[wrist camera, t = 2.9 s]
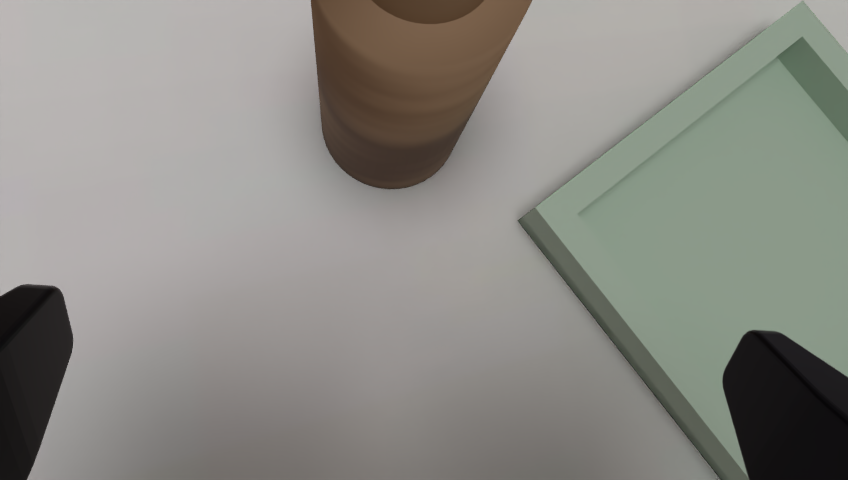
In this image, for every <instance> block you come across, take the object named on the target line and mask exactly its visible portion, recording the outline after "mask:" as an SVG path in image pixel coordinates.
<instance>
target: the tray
mask: <svg viewBox="0 0 848 480" xmlns="http://www.w3.org/2000/svg"><path fill="white" fill-rule="evenodd" d="M518 221H519V223H520V224H521V225H522V227H523V228H524V229H525V230H526V232H527V233H528V234H529V235H530V237H531V238H532V239H533V241H534V242H535V243H536V244H537V246H538V247H539V248H540V249H541V251H542V252H543V253H544V255H545V256H546V257H547V258H548V260H549V261H550V262H551V263H552V265H553V266H554V267H555V269H556V270H557V271H558V272H559V274H560V275H561V276H562V277H563V279H564V280H565V281H566V283H567V284H568V285H569V286H570V288H571V289H572V290H573V291H574V293H575V294H576V295H577V297H578V298H579V299H580V300H581V302H582V303H583V304H584V305H585V307H586V308H587V309H588V311H589V312H590V313H591V314H592V316H593V317H594V318H595V319H596V321H597V322H598V323H599V325H600V326H601V327H602V328H603V330H604V331H605V332H606V333H607V335H608V336H609V337H610V339H611V340H612V341H613V342H614V344H615V345H616V346H617V347H618V349H619V350H620V351H621V353H622V354H623V355H624V356H625V358H626V359H627V360H628V361H629V363H630V364H631V365H632V367H633V368H634V369H635V370H636V372H637V373H638V374H639V375H640V377H641V378H642V379H643V381H644V382H645V383H646V384H647V386H648V387H649V388H650V389H651V391H652V392H653V393H654V395H655V396H656V397H657V398H658V400H659V401H660V402H661V403H662V405H663V406H664V407H665V409H666V410H667V411H668V412H669V414H670V415H671V416H672V417H673V419H674V420H675V421H676V423H677V424H678V425H679V426H680V428H681V429H682V430H683V431H684V433H685V434H686V435H687V437H688V438H689V439H690V440H691V442H692V443H693V444H694V445H695V447H696V448H697V449H698V451H699V452H700V453H701V454H702V456H703V457H704V458H705V459H706V461H707V462H708V463H709V465H710V466H711V467H712V468H713V470H714V471H715V472H716V473H717V475H718V476H719V477H720V479H721V480H749V478H748V475H747V471H746V468H745V464H744V461H743V457H742V454H741V450H740V447H739V443H738V440H737V436H736V433H735V429H734V426H733V422H732V419H731V415H730V411H729V408H728V404H727V401H726V397H725V394H724V390H723V384H722V378H723V373H724V370H725V368H726V366H727V364H728V362H729V360H730V358H731V356H732V355H733V353H734V351H735V349H736V347H737V345H738V343H739V342H740V340H741V338H742V336H743V335H744V334H745V333H746V332H748V331H750V330H767V331H777V332H780V333H782V334H784V335H786V336H787V337H789V338H790V339H792V340H793V341H795V342H796V343H798V344H799V345H801V346H802V347H804V348H805V349H807V350H808V351H810V352H811V353H813V354H814V355H816V356H817V357H819V358H820V359H822V360H823V361H825V362H826V363H828V364H829V365H831V366H832V367H834V368H835V369H837V370H838V371H840V372H841V373H843V374H844V375H846V376H847V377H848V54H847V52H846V51H845V50H844V49H843V48H842V46H841V45H840V44H839V43H838V42H837V41H836V39H835V38H834V37H833V36H832V35H831V33H830V32H829V31H828V30H827V29H826V28H825V26H824V25H823V24H822V23H821V22H820V20H819V19H818V18H817V17H816V16H815V15H814V13H813V12H812V11H811V10H810V9H809V7H808V6H807V5H806V4H805V3H804V1H802V2H800V3H799V4H798V5H797V6H795V7H794V8H793V9H791V10H790V11H789V12H787V13H786V14H785V15H784V16H782V17H781V18H780V19H778V20H777V21H776V22H775V23H773V24H772V25H771V26H769V27H768V28H767V29H765V30H764V31H763V32H762V33H760V34H759V35H758V36H756V37H755V38H754V39H752V40H751V41H750V42H749V43H747V44H746V45H745V46H743V47H742V48H741V49H740V50H738V51H737V52H736V53H734V54H733V55H732V56H730V57H729V58H728V59H727V60H725V61H724V62H723V63H721V64H720V65H719V66H718V67H716V68H715V69H714V70H712V71H711V72H710V73H708V74H707V75H706V76H705V77H703V78H702V79H701V80H699V81H698V82H697V83H696V84H694V85H693V86H692V87H690V88H689V89H688V90H686V91H685V92H684V93H683V94H681V95H680V96H679V97H677V98H676V99H675V100H673V101H672V102H671V103H670V104H668V105H667V106H666V107H664V108H663V109H662V110H661V111H659V112H658V113H657V114H655V115H654V116H653V117H651V118H650V119H649V120H648V121H646V122H645V123H644V124H642V125H641V126H640V127H639V128H637V129H636V130H635V131H633V132H632V133H631V134H629V135H628V136H627V137H626V138H624V139H623V140H622V141H620V142H619V143H618V144H617V145H615V146H614V147H613V148H611V149H610V150H609V151H607V152H606V153H605V154H604V155H602V156H601V157H600V158H598V159H597V160H596V161H594V162H593V163H592V164H591V165H589V166H588V167H587V168H585V169H584V170H583V171H582V172H580V173H579V174H578V175H576V176H575V177H574V178H572V179H571V180H570V181H569V182H567V183H566V184H565V185H563V186H562V187H561V188H560V189H558V190H557V191H556V192H554V193H553V194H552V195H550V196H549V197H548V198H547V199H545V200H544V201H543V202H541V203H540V204H539V205H538V206H536V207H535V208H534V209H532V210H531V211H530V212H528V213H527V214H526V215H525V216H523V217H522V218H521V219H519V220H518Z"/></svg>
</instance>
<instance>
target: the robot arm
mask: <svg viewBox="0 0 848 480" xmlns="http://www.w3.org/2000/svg"><path fill="white" fill-rule="evenodd" d="M72 348H73V334H72V330H71V325H70V321H69V317H68V313H67V309H66V305H65V301H64V297H63V294H62V292H61V291H60V289H58V288H57V287H55V286H48V285H32V284H26V285H20V286H18V287H16V288H14V289H12V290H11V291H9V292H7V293H5V294H4V295H2V296H0V480H27V478H28V476H29V474H30V471H31V469H32V467H33V464H34V462H35V459H36V456H37V454H38V451H39V448H40V445H41V442H42V440H43V437H44V434H45V431H46V428H47V425H48V422H49V419H50V416H51V413H52V410H53V407H54V404H55V401H56V398H57V395H58V392H59V389H60V386H61V383H62V380H63V377H64V374H65V371H66V368H67V365H68V362H69V359H70V356H71V353H72ZM722 384H723V390H724V394H725V397H726V401H727V404H728V408H729V411H730V415H731V419H732V422H733V426H734V429H735V433H736V436H737V440H738V443H739V447H740V450H741V454H742V457H743V461H744V464H745V468H746V471H747V475H748V478H749V480H848V377H847V376H846V375H844V374H843V373H841V372H840V371H838V370H837V369H835V368H834V367H832V366H831V365H829V364H828V363H826V362H825V361H823V360H822V359H820V358H819V357H817V356H816V355H814V354H813V353H811V352H810V351H808V350H807V349H805V348H804V347H802V346H801V345H799V344H798V343H796V342H795V341H793V340H792V339H790V338H789V337H787V336H786V335H784V334H782V333H780V332H777V331H767V330H750V331H748V332H746V333H745V334H744V335H743V336H742V338H741V340H740V342H739V343H738V345H737V347H736V349H735V351H734V353H733V355H732V356H731V358H730V360H729V362H728V364H727V366H726V368H725V370H724V373H723V378H722Z"/></svg>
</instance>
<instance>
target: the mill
mask: <svg viewBox="0 0 848 480" xmlns="http://www.w3.org/2000/svg"><path fill="white" fill-rule="evenodd" d="M531 2H532V0H311V7H312V19H313V30H314V42H315V53H316V64H317V76H318V87H319V99H320V110H321V121H322V131H323V136H324V140H325V143H326V146H327V148H328V150H329V152H330V154H331V156H332V157H333V159H334V160H335V162H336V163H337V164H338V165H339V166H340V167H341V168H342V169H343V170H344V171H345V172H346V173H347V174H349V175H350V176H352V177H353V178H355V179H356V180H358V181H360V182H362V183H364V184H367V185H370V186H373V187H378V188H384V189H400V188H406V187H410V186H413V185H416V184H418V183H421V182H423V181H425V180H426V179H428V178H429V177H431V176H432V175H434V174H435V173H436V172H437V171H438V170H439V169H440V168H441V167H442V166H443V165H444V163H445V162H446V160H447V159H448V157H449V155H450V154H451V152H452V150H453V148H454V146H455V144H456V142H457V141H458V139H459V137H460V135H461V133H462V131H463V129H464V128H465V126H466V124H467V122H468V120H469V118H470V116H471V114H472V113H473V111H474V109H475V107H476V105H477V103H478V101H479V100H480V98H481V96H482V94H483V92H484V90H485V88H486V86H487V85H488V83H489V81H490V79H491V77H492V75H493V73H494V72H495V70H496V68H497V66H498V64H499V62H500V60H501V58H502V57H503V55H504V53H505V51H506V49H507V47H508V45H509V44H510V42H511V40H512V38H513V36H514V34H515V32H516V31H517V29H518V27H519V25H520V23H521V21H522V19H523V17H524V16H525V14H526V12H527V10H528V8H529V6H530V4H531Z"/></svg>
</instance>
